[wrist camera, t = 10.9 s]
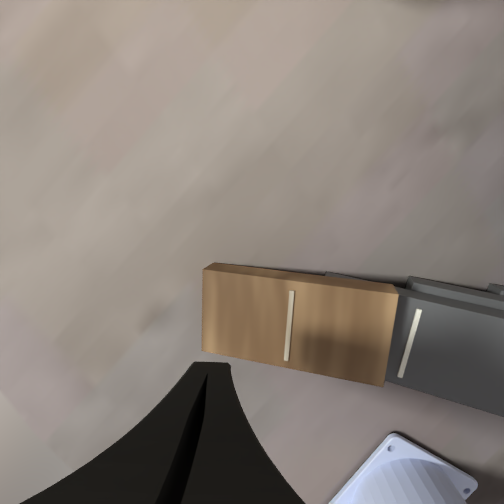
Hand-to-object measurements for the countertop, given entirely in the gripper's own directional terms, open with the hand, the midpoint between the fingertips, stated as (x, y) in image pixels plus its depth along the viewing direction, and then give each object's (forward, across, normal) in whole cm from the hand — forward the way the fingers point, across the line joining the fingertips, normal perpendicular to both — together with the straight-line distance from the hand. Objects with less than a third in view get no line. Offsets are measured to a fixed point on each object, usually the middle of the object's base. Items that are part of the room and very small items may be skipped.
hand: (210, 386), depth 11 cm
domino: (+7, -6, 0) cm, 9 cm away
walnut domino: (+7, +1, 0) cm, 7 cm away
